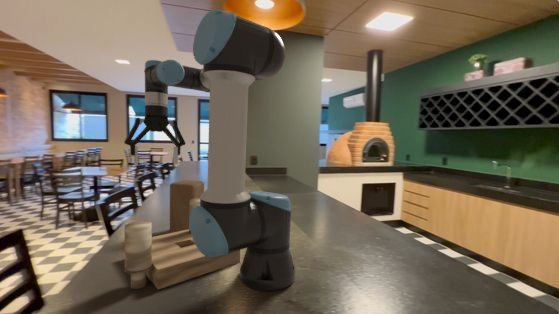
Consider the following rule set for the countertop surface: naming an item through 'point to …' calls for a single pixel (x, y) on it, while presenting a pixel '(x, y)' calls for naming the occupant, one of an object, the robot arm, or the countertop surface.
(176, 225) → the block
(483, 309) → the countertop surface
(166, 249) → the seat board
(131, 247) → the peg
